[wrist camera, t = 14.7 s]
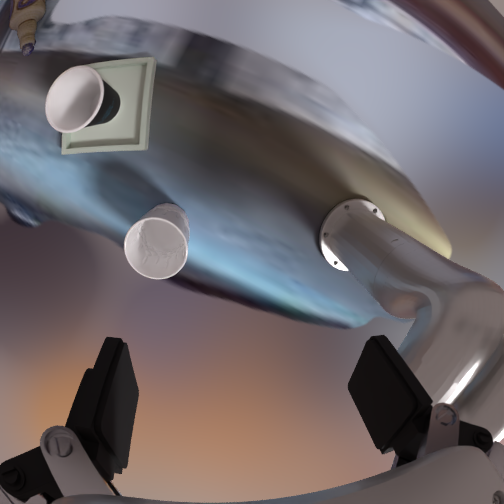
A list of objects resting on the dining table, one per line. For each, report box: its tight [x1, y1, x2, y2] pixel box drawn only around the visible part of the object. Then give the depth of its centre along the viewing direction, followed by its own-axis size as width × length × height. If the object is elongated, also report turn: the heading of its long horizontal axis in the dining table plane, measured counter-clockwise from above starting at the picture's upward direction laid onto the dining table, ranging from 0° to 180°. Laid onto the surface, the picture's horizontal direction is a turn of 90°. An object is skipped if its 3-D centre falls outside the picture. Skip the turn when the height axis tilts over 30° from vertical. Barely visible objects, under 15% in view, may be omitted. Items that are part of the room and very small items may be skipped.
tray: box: [62, 57, 157, 155], centre depth 32 cm, size 14×14×2 cm
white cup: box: [124, 203, 189, 279], centre depth 36 cm, size 8×8×10 cm
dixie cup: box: [45, 66, 121, 133], centre depth 27 cm, size 8×8×11 cm
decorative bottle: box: [9, 0, 46, 56], centre depth 18 cm, size 26×8×7 cm, turn 12°
